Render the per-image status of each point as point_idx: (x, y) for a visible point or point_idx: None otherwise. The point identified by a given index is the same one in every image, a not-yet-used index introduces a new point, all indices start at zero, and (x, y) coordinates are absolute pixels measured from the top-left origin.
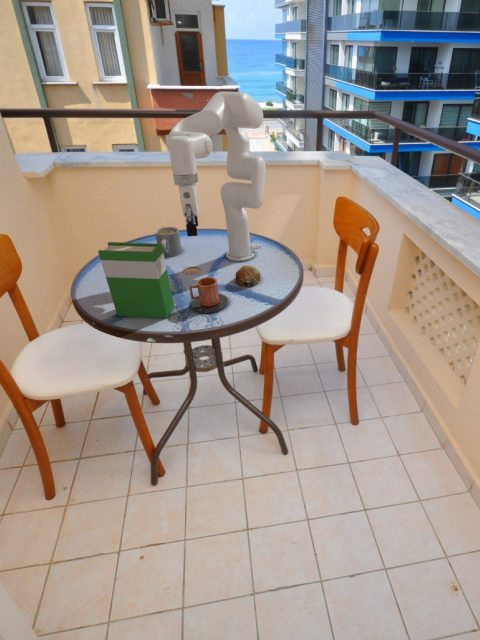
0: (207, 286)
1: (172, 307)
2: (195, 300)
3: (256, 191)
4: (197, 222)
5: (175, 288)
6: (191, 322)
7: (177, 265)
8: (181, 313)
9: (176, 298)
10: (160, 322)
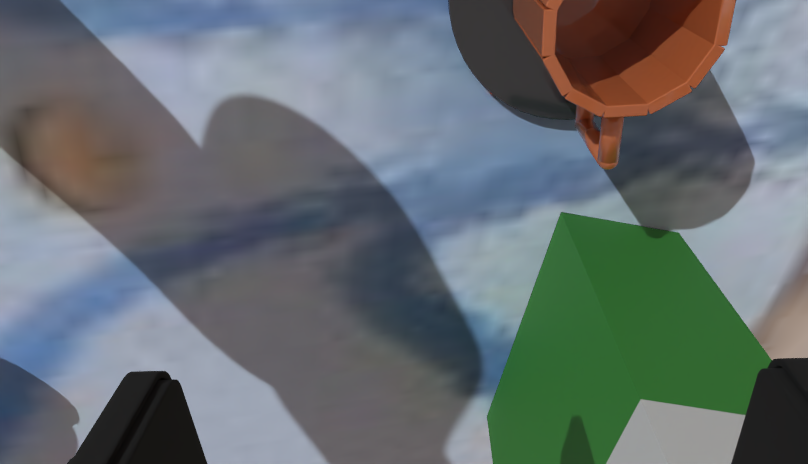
0: (731, 15)
1: (591, 223)
2: (538, 97)
3: None
4: (138, 431)
5: (331, 231)
6: (782, 96)
7: (12, 254)
8: (651, 165)
9: (459, 212)
10: (711, 259)
